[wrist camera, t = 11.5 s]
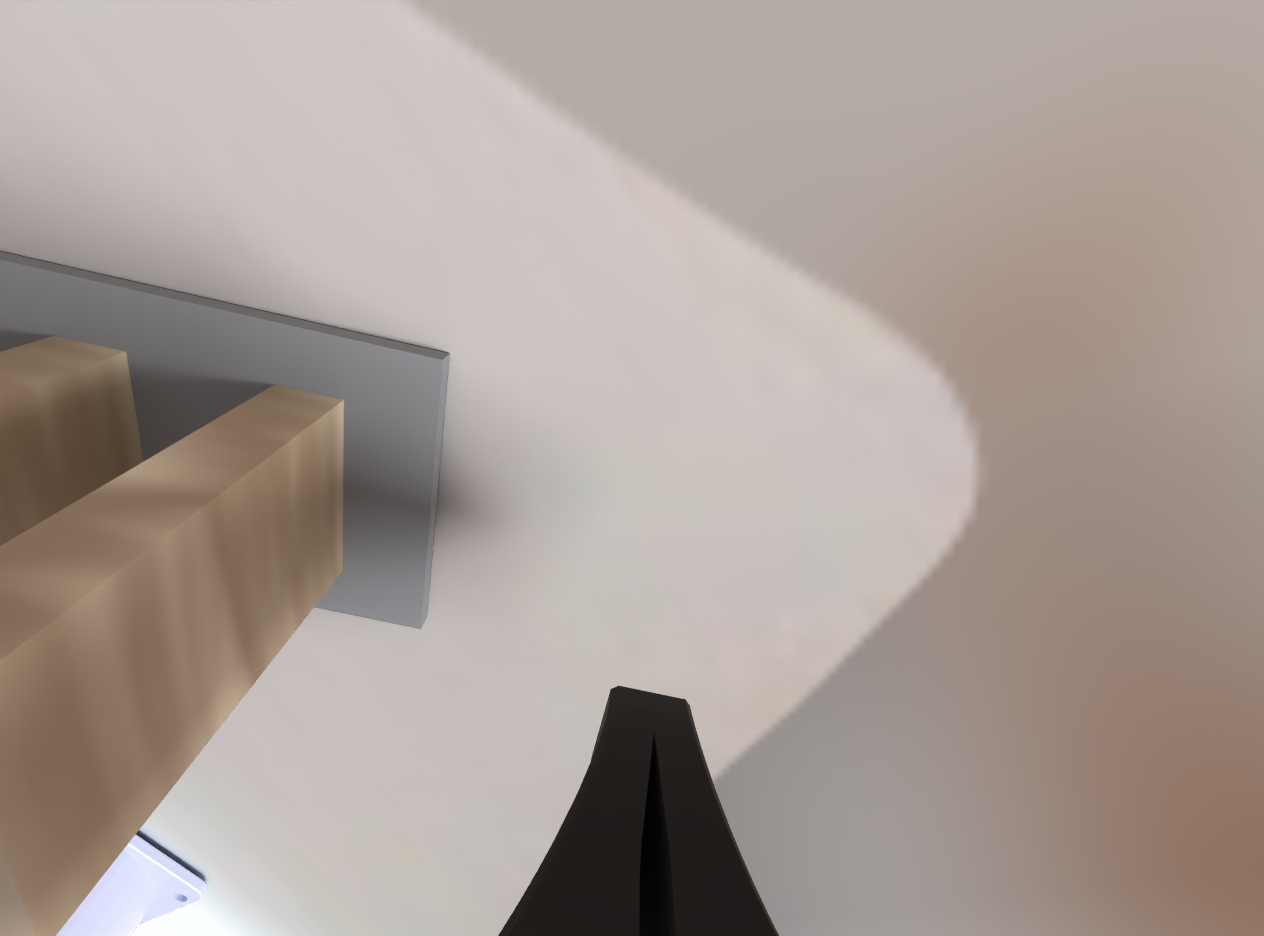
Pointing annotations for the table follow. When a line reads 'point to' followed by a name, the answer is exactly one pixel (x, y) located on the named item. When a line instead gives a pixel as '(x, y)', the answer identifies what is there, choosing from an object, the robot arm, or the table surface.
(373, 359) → the mat
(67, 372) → the maple domino
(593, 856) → the robot arm
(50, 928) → the maple domino
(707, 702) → the table surface
